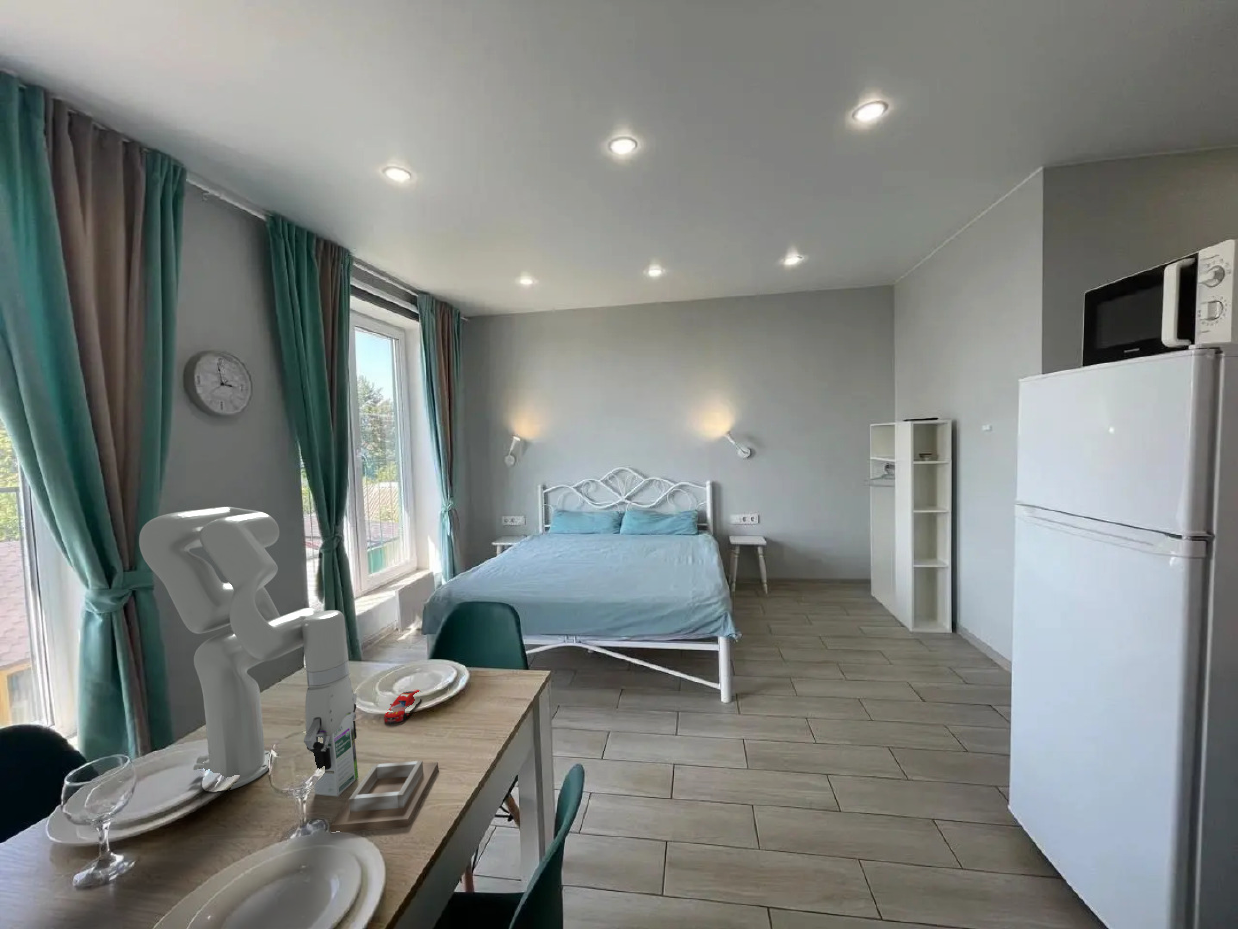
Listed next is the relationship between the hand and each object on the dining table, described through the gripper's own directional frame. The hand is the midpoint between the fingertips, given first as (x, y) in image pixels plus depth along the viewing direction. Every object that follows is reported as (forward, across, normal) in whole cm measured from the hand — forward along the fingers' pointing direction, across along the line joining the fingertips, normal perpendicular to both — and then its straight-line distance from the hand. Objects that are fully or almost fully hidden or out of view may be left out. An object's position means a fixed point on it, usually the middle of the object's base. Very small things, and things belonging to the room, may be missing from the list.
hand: (336, 753), depth 100 cm
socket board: (+7, +5, +12) cm, 15 cm away
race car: (+7, -29, +1) cm, 30 cm away
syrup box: (+7, 0, -1) cm, 7 cm away
